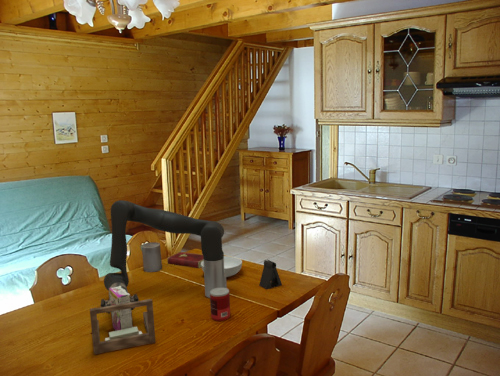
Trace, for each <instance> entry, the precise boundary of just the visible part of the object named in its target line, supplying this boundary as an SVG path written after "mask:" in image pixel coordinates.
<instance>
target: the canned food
mask: <svg viewBox="0 0 500 376" xmlns="http://www.w3.org/2000/svg"><path fill="white" fill-rule="evenodd" d="M230 296H231V295H230V289H229V288H228V287H227V288H215V289H212V290H211V291H210V298H209V300H210V301H209V303H210V305H209V306H210V317H211V319H212V320H213V321H216V322H222V321H226V320H228V319H230V316H231V301H230V299H231V298H230Z"/></svg>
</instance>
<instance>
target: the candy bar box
mask: <svg viewBox="0 0 500 376" xmlns="http://www.w3.org/2000/svg"><path fill="white" fill-rule="evenodd" d="M127 291H128V290H127ZM127 291H126V290H125V289H124V288H123V287H122V286H117V287H113V288H109V291H108V296H109V295H110V305H111V306H112V305H118V304H124V303H130V302H131V300H130V297H131V294H130V293H129V291H128V292H127ZM132 312H133V311H132V310H131V308H129V309H123V310H117V311H111V312H110V315H111V323H112V329H113V331H118V330H122V329H127V328H132V327H134V324H133V314H132Z"/></svg>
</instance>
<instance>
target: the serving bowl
mask: <svg viewBox="0 0 500 376" xmlns="http://www.w3.org/2000/svg"><path fill="white" fill-rule="evenodd" d="M242 265H243V260H242V259H241V258H238V257H235V256H228V255H224V270H225V275H226V278H230V277H232V276H235V275H236V274H237V273H238V272H240V271H241V269H242ZM200 268H201V270H202V272H204V261H202V262H201V267H200Z"/></svg>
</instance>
